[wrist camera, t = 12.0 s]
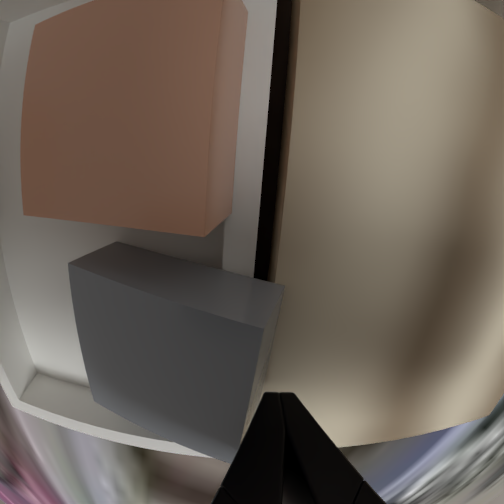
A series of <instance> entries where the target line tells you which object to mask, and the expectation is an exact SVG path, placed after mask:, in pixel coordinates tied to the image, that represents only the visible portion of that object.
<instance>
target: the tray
mask: <svg viewBox="0 0 504 504" xmlns="http://www.w3.org/2000/svg"><path fill="white" fill-rule="evenodd" d="M91 1H94V0H0V383H1V385H2V387H3V389H4V391H5V393H6V395H7V397H8V399H9V401H10V403H11V404H12V406H13V407H14V408H17V409H19V410H21V411H23V412H26V413H28V414H31V415H33V416H36V417H38V418H41V419H43V420H46V421H49V422H52V423H54V424H57V425H60V426H63V427H66V428H69V429H72V430H75V431H78V432H82V433H85V434H88V435H92V436H95V437H99V438H103V439H107V440H110V441H115V442H119V443H123V444H127V445H132V446H137V447H141V448H147V449H152V450H158V451H163V452H170V453H176V454H184V455H191V456H200V457H210V456H207V455H205V454H202V453H199V452H197V451H194V450H192V449H189V448H187V447H184V446H182V445H179V444H177V443H175V442H172V441H170V440H168V439H166V438H163V437H161V436H159V435H157V434H155V433H153V432H150V431H148V430H146V429H144V428H142V427H140V426H138V425H136V424H134V423H132V422H130V421H128V420H127V419H125V418H123V417H121V416H119V415H117V414H115V413H114V412H112V411H110V410H108V409H106V408H105V407H103V406H101V405H100V404H98V403H96V402H94V400H93V396H92V393H91V389H90V385H89V381H88V378H87V374H86V370H85V365H84V361H83V357H82V352H81V348H80V343H79V338H78V333H77V327H76V321H75V316H74V309H73V303H72V296H71V288H70V280H69V271H68V263H69V262H71V261H73V260H75V259H78V258H80V257H82V256H84V255H86V254H89V253H91V252H93V251H95V250H98V249H100V248H102V247H104V246H107V245H109V244H111V243H114V242H116V241H117V242H121V243H124V244H128V245H131V246H135V247H139V248H142V249H146V250H149V251H153V252H157V253H160V254H164V255H168V256H171V257H175V258H179V259H183V260H186V261H190V262H194V263H198V264H201V265H205V266H209V267H213V268H217V269H221V270H224V271H228V272H232V273H236V274H240V275H244V276H248V277H252V278H253V277H254V266H255V255H256V243H257V232H258V221H259V209H260V198H261V187H262V175H263V164H264V152H265V140H266V129H267V117H268V105H269V93H270V81H271V69H272V57H273V45H274V33H275V21H276V9H277V0H242V1H243V3H244V5H245V7H246V9H247V11H248V19H247V29H246V39H245V50H244V60H243V71H242V83H241V94H240V106H239V119H238V131H237V145H236V158H235V172H234V187H233V202H232V213H231V214H230V215H229V216H228V217H227V218H226V219H225V220H223V221H222V222H221V223H220V224H219V225H218V226H217V227H216V228H214V229H213V230H212V231H211V232H210V233H209V234H208V235H206V236H205V237H199V236H191V235H183V234H175V233H167V232H159V231H151V230H143V229H135V228H127V227H119V226H111V225H102V224H94V223H86V222H77V221H69V220H60V219H52V218H43V217H35V216H26V215H23V204H22V190H21V165H20V142H21V117H22V104H23V93H24V84H25V77H26V70H27V63H28V57H29V52H30V46H31V41H32V36H33V32H34V28H35V25H36V24H38V23H40V22H42V21H44V20H46V19H49V18H51V17H53V16H55V15H58V14H60V13H62V12H65V11H67V10H69V9H72V8H75V7H77V6H80V5H82V4H85V3H88V2H91ZM210 458H213V457H210Z"/></svg>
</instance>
